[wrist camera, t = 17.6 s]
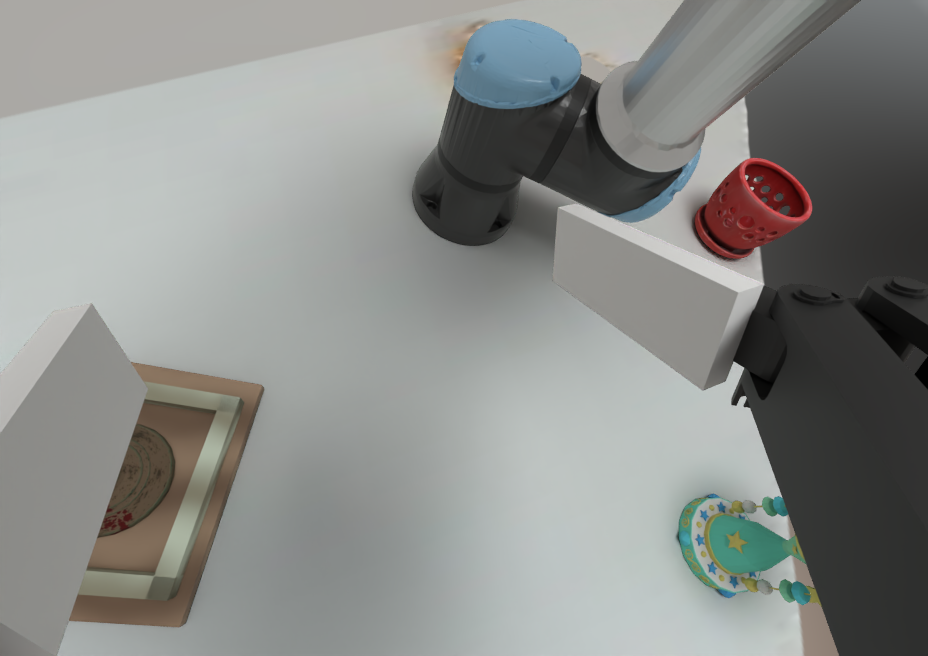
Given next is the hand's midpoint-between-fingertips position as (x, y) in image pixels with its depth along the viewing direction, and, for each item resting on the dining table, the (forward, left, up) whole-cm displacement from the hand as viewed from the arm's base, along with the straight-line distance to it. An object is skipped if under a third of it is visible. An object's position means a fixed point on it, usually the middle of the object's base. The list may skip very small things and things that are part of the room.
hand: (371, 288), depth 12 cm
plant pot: (-46, +55, -34) cm, 80 cm away
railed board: (+5, -19, -34) cm, 39 cm away
